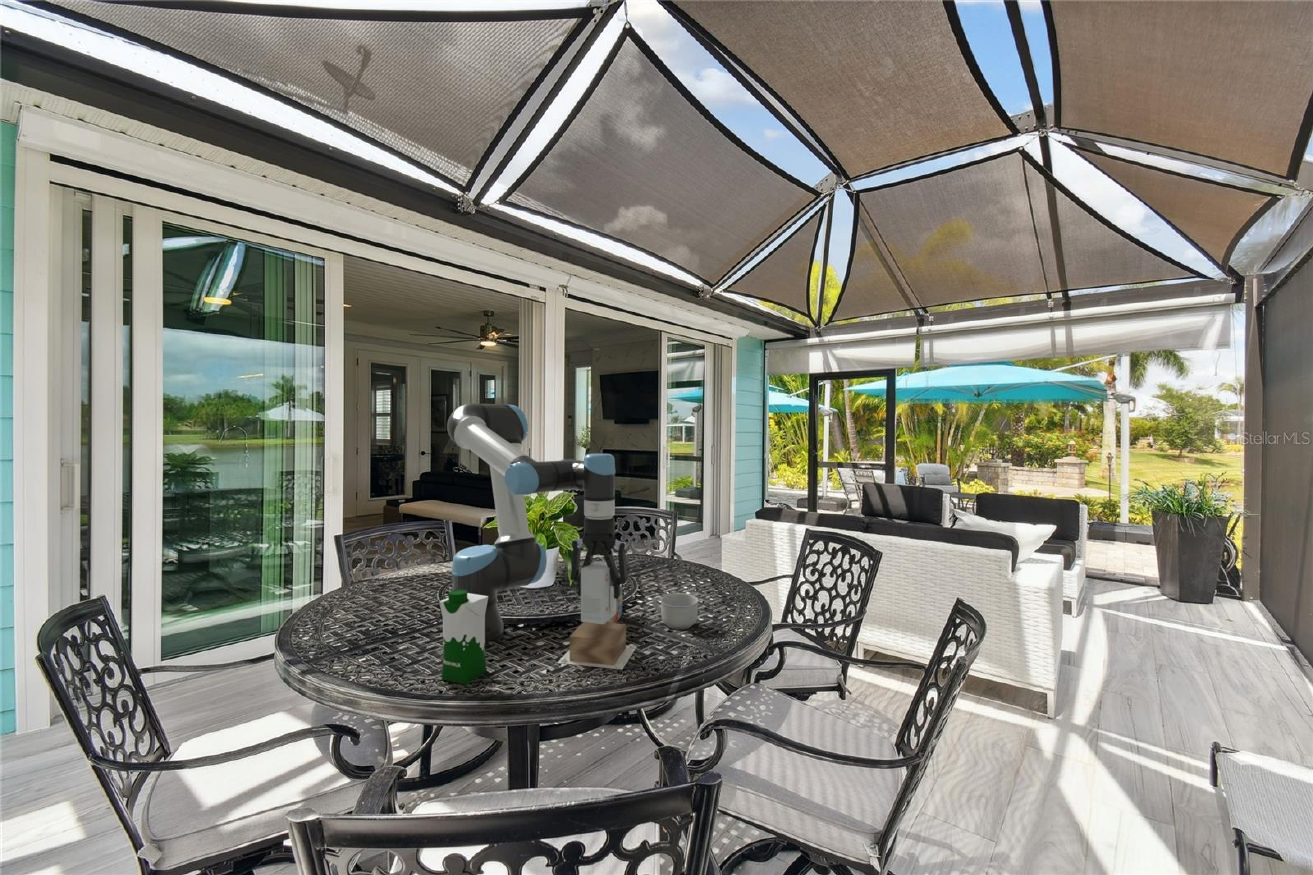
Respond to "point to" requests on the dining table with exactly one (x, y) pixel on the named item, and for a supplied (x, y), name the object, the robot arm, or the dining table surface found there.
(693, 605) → the teacup
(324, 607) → the dining table surface
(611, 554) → the robot arm
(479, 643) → the milk carton
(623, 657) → the baseplate
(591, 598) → the small box
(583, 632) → the walnut brick
